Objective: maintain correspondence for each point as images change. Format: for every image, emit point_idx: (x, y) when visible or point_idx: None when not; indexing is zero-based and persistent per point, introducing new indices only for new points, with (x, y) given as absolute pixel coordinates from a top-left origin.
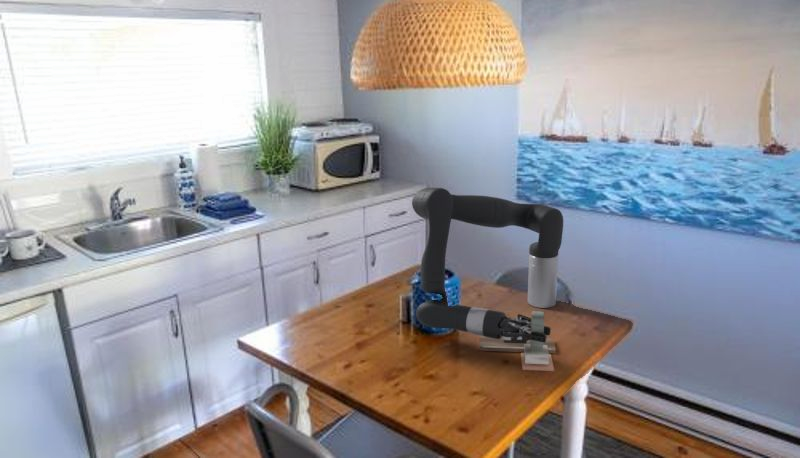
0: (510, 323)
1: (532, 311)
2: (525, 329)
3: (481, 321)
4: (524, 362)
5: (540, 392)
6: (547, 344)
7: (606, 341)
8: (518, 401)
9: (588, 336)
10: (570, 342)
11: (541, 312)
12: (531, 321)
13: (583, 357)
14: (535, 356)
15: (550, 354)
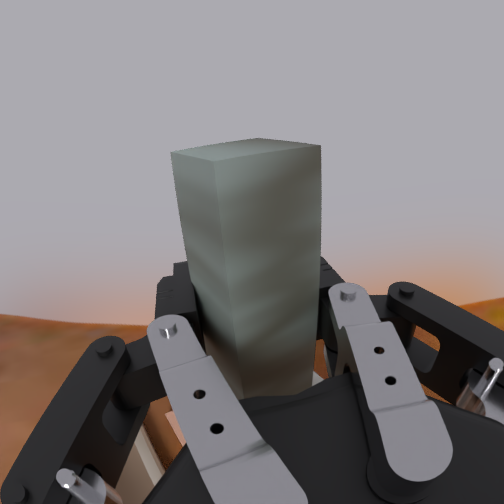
0: (427, 435)
1: (215, 159)
2: (338, 323)
3: None
4: None
5: (421, 328)
6: None
7: (27, 321)
8: None
9: (2, 356)
10: (39, 388)
11: (192, 150)
12: (236, 276)
13: (130, 337)
14: (320, 381)
15: (166, 413)
